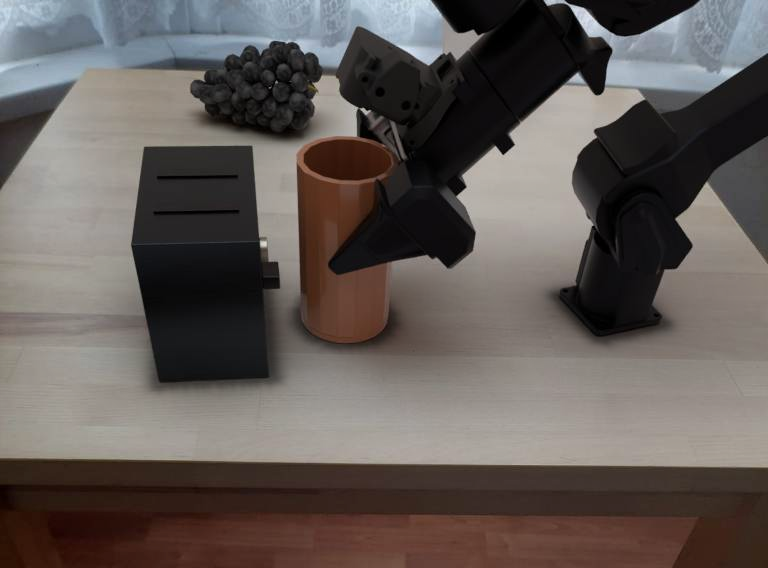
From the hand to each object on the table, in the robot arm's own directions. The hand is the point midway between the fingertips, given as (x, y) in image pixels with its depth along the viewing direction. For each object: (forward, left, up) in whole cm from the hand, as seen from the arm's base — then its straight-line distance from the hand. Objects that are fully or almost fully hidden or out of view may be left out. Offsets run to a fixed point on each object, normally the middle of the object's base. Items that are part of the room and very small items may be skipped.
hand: (327, 242), depth 59 cm
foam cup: (+37, -31, -7) cm, 49 cm away
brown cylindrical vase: (0, -1, -7) cm, 7 cm away
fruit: (+38, -5, -7) cm, 39 cm away
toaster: (+2, +9, -7) cm, 11 cm away
